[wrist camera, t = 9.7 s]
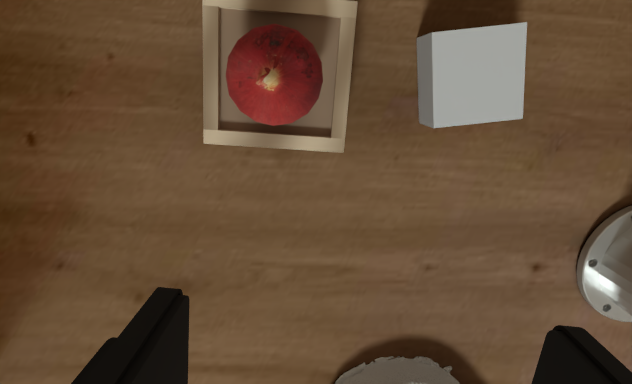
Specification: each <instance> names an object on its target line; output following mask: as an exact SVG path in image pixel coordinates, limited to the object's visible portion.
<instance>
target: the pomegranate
mask: <svg viewBox="0 0 632 384" xmlns="http://www.w3.org/2000/svg"><path fill="white" fill-rule="evenodd" d="M226 81H227V87H228V92H229V96H230V97H231V99H232V100H233V101H234V103H235V104H236V106H237V107H238V108H239V110H240V111H241V112H242V113H244V114H245V115H247V116H248V117H250V118H251V119H253V120H254V121H256V122H259V123H264V124H268V125H272V126H276V125H283V124H290V123H293V122H294V121H296V120H298V119H300V118H301V117H303V116H305V115H306V114H308V113H309V111H310V110H311V108H312V107H313V106H314V104H315V103H316V101H317V100H318V99H319V95H320V91H321V87H322V83H323V73H322V62H321V60H320V58H319V56H318V54H317V52H316V50H315V48H314V45H313V44H312V43H311V42H310V41H309V40H308V39H307V38H305V37H304V36H303V35H302V34H301V33H300V32H299V31H298V30H296V29H292V28H289V27H285V26H282V25H278V24H270V25H265V26H260V27H255V28H253V29H251V30H250V31H249V32H248V33H246V34H245V35H244V36H242V37H241V38H240V39H239V40H238V41H237V42H236V44H235V46H234V47H233V49H232V51H231V53H230V54H229V56H228V61H227V69H226Z"/></svg>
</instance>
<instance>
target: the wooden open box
mask: <svg viewBox="0 0 632 384" xmlns="http://www.w3.org/2000/svg"><path fill="white" fill-rule="evenodd" d="M357 3H358V1H348V0H203V122H204V144H219V145H234V146H249V147H264V148H280V149H295V150H310V151H325V152H340V153H344V144H345V133H346V122H347V111H348V101H349V90H350V79H351V68H352V57H353V46H354V36H355V25H356V14H357ZM270 24H278V25H282V26H285V27H289V28H292V29H296V30H298V31H299V32H300V33H301V34H302V35H303V36H304V37H305V38H307V39H308V40H309V41H310V42H311V43H312V44H313V45H314V48H315V50H316V52H317V54H318V56H319V58H320V60H321V62H322V73H323V83H322V87H321V91H320V95H319V99H318V100H317V101H316V103H315V104H314V106H313V107H312V108H311V110H310V111H309V113H308V114H306V115H305V116H303V117H301V118H300V119H298V120H296V121H294V122H293V123H290V124H283V125H276V126H272V125H268V124H264V123H259V122H256V121H254V120H253V119H251V118H250V117H248V116H247V115H245V114H244V113H242V112H241V111H240V110H239V108H238V107H237V106H236V104H235V103H234V101H233V100H232V99H231V97H230V96H229V92H228V87H227V81H226V69H227V61H228V56H229V54H230V53H231V51H232V49H233V47H234V46H235V44H236V42H237V41H238V40H239V39H240V38H241V37H242V36H244V35H245V34H246V33H248V32H249V31H250V30H251V29H253V28H255V27H260V26H265V25H270Z"/></svg>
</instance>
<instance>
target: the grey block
mask: <svg viewBox="0 0 632 384" xmlns="http://www.w3.org/2000/svg"><path fill="white" fill-rule="evenodd" d="M526 34H527V22H524V23H515V24H506V25H497V26H487V27H478V28H469V29H459V30H450V31H441V32H432V33H429V34H426V35H424V36H421V37H418V38H417V67H418V102H419V123H421V124H424V125H426V126H429V127H432V128H440V127H449V126H459V125H468V124H477V123H487V122H496V121H505V120H514V119H523V101H524V78H525V56H526Z"/></svg>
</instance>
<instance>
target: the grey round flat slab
mask: <svg viewBox="0 0 632 384" xmlns="http://www.w3.org/2000/svg"><path fill="white" fill-rule="evenodd" d="M398 357H400V356H398ZM398 357H396V358H394V359H393V356H390V357H386V358H385V357H381V358H377V359H375V363H374V362H373V361H371V363H370V364H368V365H365V362H364V363H362V364H361V365H359V366H358V367H354V368H353V369H351V370H349V371H347V372H346V373H344V374H343V375H341V376H340V377H339V378H338V379H337V381H336V382H335V384H460V383H459V382H458V381H457V380H456V379H455V378H454V377H453V376H451V375H450V373H449V372H450V371H451V370H452V367H451V366H447V367H444V368H440V367H439V364H438V363H436V362H434V361H433V360H432V359H431V358H427V357H425V358H424V357H420V356H419V357H418V356H416V357H415V358H414V359H409V358H408V359H406V358H404V357H403V356H402V357H401V358H398ZM391 358H392V360H391ZM388 359H390V360H388Z"/></svg>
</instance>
